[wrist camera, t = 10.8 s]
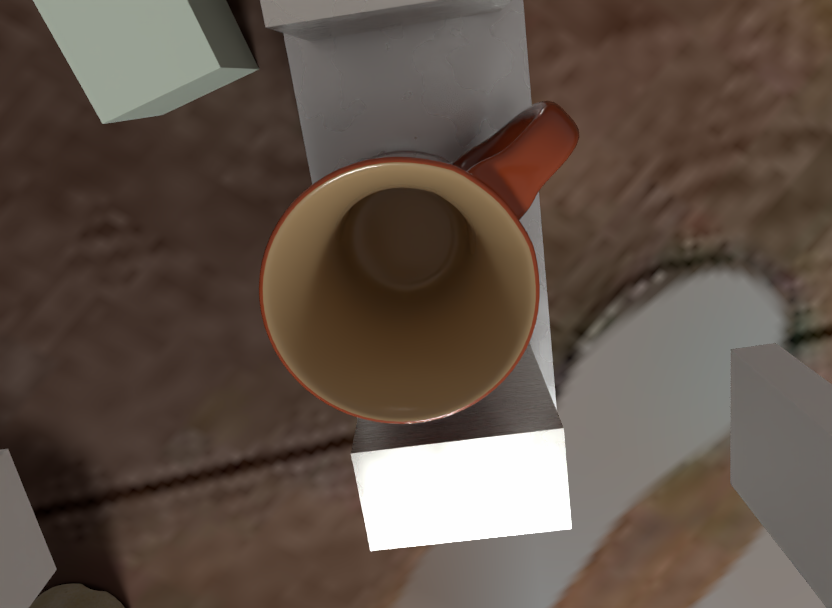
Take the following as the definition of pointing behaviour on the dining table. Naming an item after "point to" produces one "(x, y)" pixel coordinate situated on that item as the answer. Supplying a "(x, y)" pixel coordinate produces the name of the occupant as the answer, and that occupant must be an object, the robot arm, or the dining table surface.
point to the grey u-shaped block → (465, 128)
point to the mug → (413, 273)
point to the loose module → (147, 51)
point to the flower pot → (75, 598)
